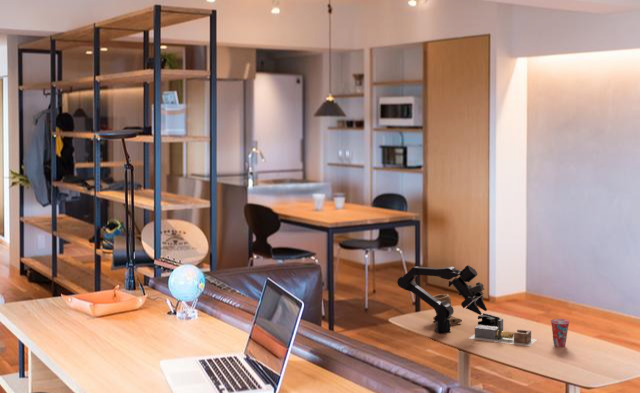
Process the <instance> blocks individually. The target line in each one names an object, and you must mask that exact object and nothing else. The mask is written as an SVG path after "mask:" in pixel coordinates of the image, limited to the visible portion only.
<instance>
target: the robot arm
mask: <svg viewBox="0 0 640 393" xmlns="http://www.w3.org/2000/svg"><path fill="white" fill-rule="evenodd" d="M417 276H430V277H437V278H438V277H439V278H441V279H444V280H447V281H448V280H449V281H448V288H450V287H452V286H453V287H454V288H455V290H456V291H457V292H458V295H459V296H462V297H463V299H464V300H463V301H462V302H461V304H460V305H461V307H462V308H463V309H466V310H469V311H471V312H473V313H475V314H477V315H478V316H481V315H483V313H482V311H481V310H483V311H485V312H487V311H488V308H487V306H486V304H485V302H484V300H483V299H484V293H483V291H484V290H485V288H484V286H485V285H484V284H483V283H482V282H480V281H479V282H476V283H475V285H474V286H472V285H468V284H467V283H470V282H471V281H472V280H474V279H475V278H476V277H477V276H478V271H477V270H476V269H475V268H474V267H473V266H470V265H469V264H467V265H466V266H465V267H464V268H463V269H462V270H461V269H457V268H456V267H454V266H444V267H428V266H417V265H416V266H413V267H411V268H410V269H409V271H407V272H406V273H405V274H403V275H402V276H400V277H398V279H397V282H396V283H397V286H398V287H399V288H401V289H403V290H405V291H407V292H411V293H413V294H414V295H416V297H417V298H420V300H422V302H425V303H426V304H427V305H429V306H430V307H432V308H433V309H434V312H435V316H433V318H434V319H435V320H434V319H433V320H434V321H435V329H434V332H436V333H437V334H440V335H441V334H449V333H452V332H451V325H450V322H449V320H448V319H449V318H450V316H453V315H454V312H455V311H454V307H453V306H452V303H451V304H449V303H447V302H446V301H445V300H444V301H443V302H440V301H438V300H437V299H436V298H434V297H433V296H434V295H431V293H429V292H427V291H426V290H425V289H424V288H422V287H421V286H419V285H418V284H417V282H416V281H415V280H414V279H415V278H416V277H417ZM480 309H481V310H480ZM436 313H437V315H436Z"/></svg>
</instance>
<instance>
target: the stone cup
mask: <svg viewBox="0 0 640 393" xmlns="http://www.w3.org/2000/svg"><path fill="white" fill-rule="evenodd" d="M432 296H433V297H434V298H436V299H437V300H438V301H440V302H443V301H444V300H445V301H446V302H447V303H449V304H451V305H452V299H451V296H450V295H449V294H447V293H446V294H444V293H441V294H436V295H432ZM436 315H437V313H436V312H435V316H436ZM433 320H434V321H435V319H434V317H433ZM448 320H449V322H450V326H452V325H453V326H454V325H455V326H456V325H458V324H460V323H462V322H463V319H462V318H459V317H455V316H453V315H451V316H450V318H449V319H448Z"/></svg>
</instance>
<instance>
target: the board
mask: <svg viewBox="0 0 640 393" xmlns="http://www.w3.org/2000/svg"><path fill="white" fill-rule="evenodd" d="M468 339H470V340H479V341H486V342H494V343H502V344H508V345H509V344H511V345H515V346H516V345H517V346H525V347H531V346H532V345H533V344H534V343H535V342H536V341H537V340H538V339H535V338H531V341H530V342H529V343H528V344H523V343H515V342H514V337H513V339H509V338H501V339H498V337H496V340H492V339H485V338H477V337H475V333H474V334H472V335H471V336H470V337H468Z"/></svg>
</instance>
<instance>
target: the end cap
mask: <svg viewBox="0 0 640 393" xmlns="http://www.w3.org/2000/svg"><path fill="white" fill-rule="evenodd" d="M477 319H478V321H477V326H478V325H485V326H494V327H498V320H500V319H501V318H500V317H499V316H496V315H492V314H488V313H482V314H481V315H478V316H477Z"/></svg>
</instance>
